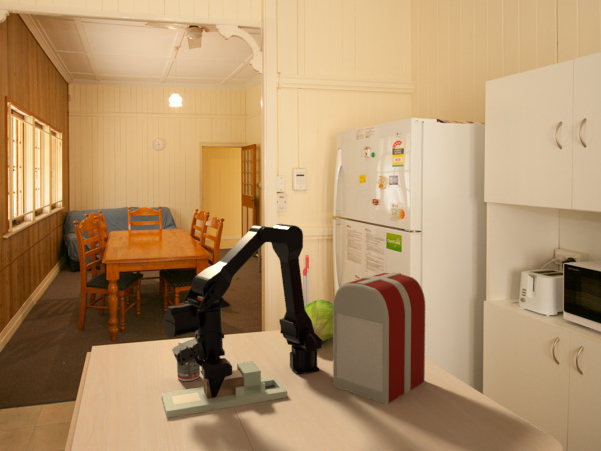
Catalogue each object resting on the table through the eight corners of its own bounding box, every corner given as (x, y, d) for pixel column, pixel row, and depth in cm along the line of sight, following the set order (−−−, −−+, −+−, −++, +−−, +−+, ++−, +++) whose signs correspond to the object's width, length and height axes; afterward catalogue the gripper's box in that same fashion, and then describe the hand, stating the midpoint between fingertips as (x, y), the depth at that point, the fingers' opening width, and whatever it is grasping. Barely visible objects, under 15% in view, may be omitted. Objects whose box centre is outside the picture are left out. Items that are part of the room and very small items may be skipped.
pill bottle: (194, 382, 136) (193, 344, 135) (174, 381, 137) (172, 343, 136) (203, 373, 141) (201, 337, 140) (183, 372, 143) (181, 336, 141)
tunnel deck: (274, 381, 136) (274, 355, 135) (287, 397, 126) (287, 369, 126) (161, 399, 126) (160, 371, 125) (166, 417, 117) (165, 388, 116)
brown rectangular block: (252, 383, 131) (252, 366, 130) (257, 390, 127) (257, 373, 126) (203, 391, 127) (203, 374, 126) (207, 398, 123) (206, 381, 122)
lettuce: (291, 352, 157) (290, 313, 156) (304, 328, 179) (303, 294, 178) (335, 354, 155) (334, 315, 153) (342, 330, 177) (342, 295, 176)
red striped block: (426, 381, 135) (427, 276, 132) (387, 404, 122) (387, 288, 119) (372, 365, 146) (372, 268, 143) (331, 385, 133) (330, 278, 130)
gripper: (169, 321, 129) (171, 383, 131) (179, 345, 112) (182, 416, 114) (214, 316, 133) (216, 376, 135) (231, 338, 116) (234, 407, 117)
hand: (211, 392), depth 125 cm, fingers closed on brown rectangular block, 4 cm apart
